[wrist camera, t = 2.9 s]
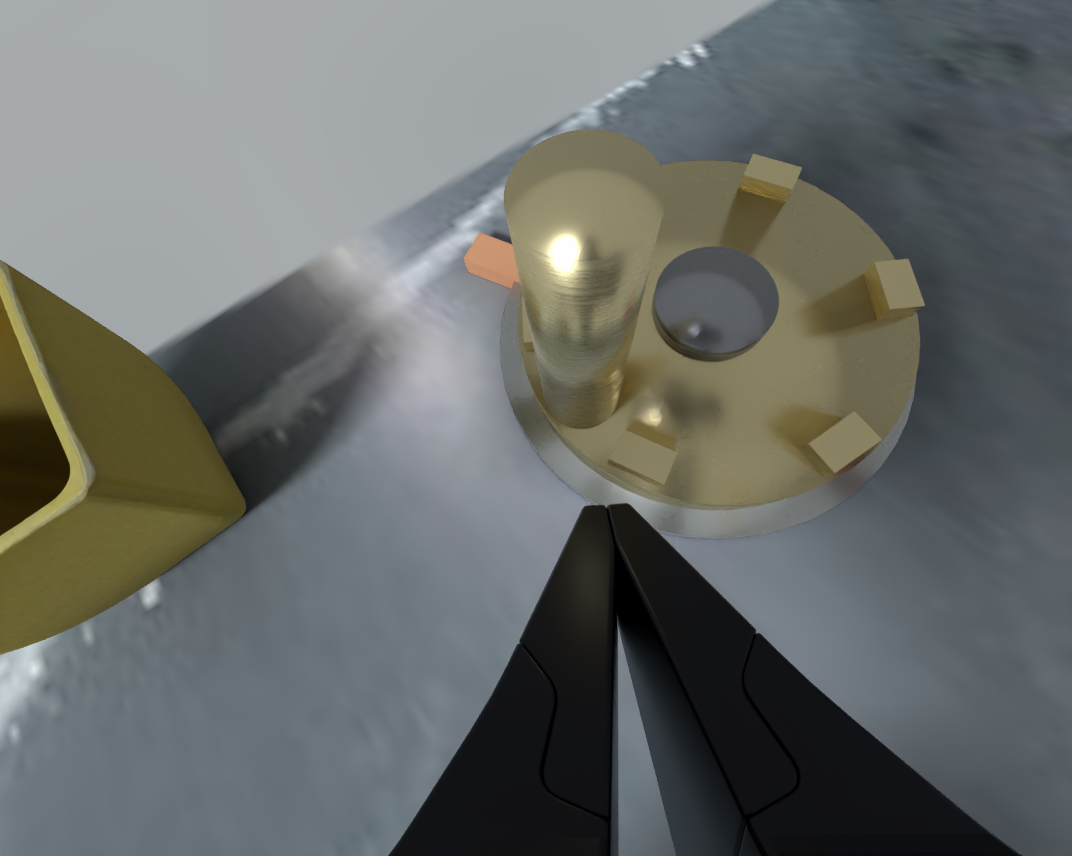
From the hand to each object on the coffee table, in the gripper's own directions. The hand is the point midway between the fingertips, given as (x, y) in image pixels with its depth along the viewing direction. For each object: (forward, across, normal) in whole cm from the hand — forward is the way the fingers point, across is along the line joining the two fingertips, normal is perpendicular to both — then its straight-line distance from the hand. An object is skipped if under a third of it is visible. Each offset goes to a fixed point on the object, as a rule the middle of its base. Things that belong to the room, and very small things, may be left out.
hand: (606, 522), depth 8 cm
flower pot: (+9, +18, +5) cm, 21 cm away
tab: (+16, +3, -2) cm, 17 cm away
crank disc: (+13, -5, +1) cm, 14 cm away
